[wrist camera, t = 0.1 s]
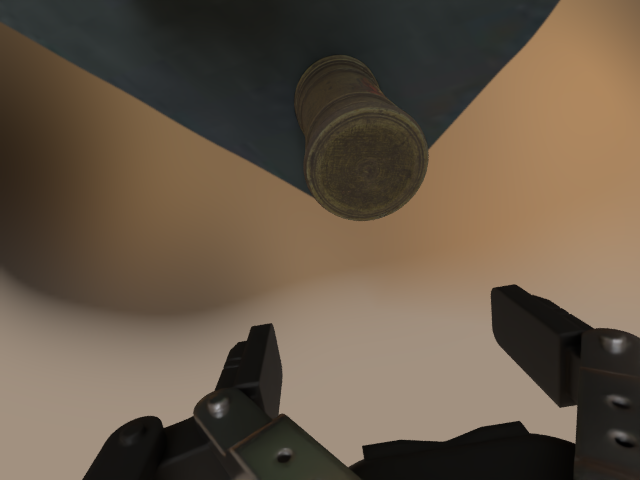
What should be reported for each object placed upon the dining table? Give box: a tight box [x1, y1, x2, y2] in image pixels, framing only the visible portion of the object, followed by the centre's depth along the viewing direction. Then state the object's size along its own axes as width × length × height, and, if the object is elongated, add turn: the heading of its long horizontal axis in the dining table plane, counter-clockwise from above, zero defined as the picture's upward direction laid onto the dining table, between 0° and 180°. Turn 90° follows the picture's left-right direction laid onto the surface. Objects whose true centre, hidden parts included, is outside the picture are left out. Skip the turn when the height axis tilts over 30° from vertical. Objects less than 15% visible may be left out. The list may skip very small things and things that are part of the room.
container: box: [294, 55, 428, 221], centre depth 32 cm, size 9×9×18 cm
